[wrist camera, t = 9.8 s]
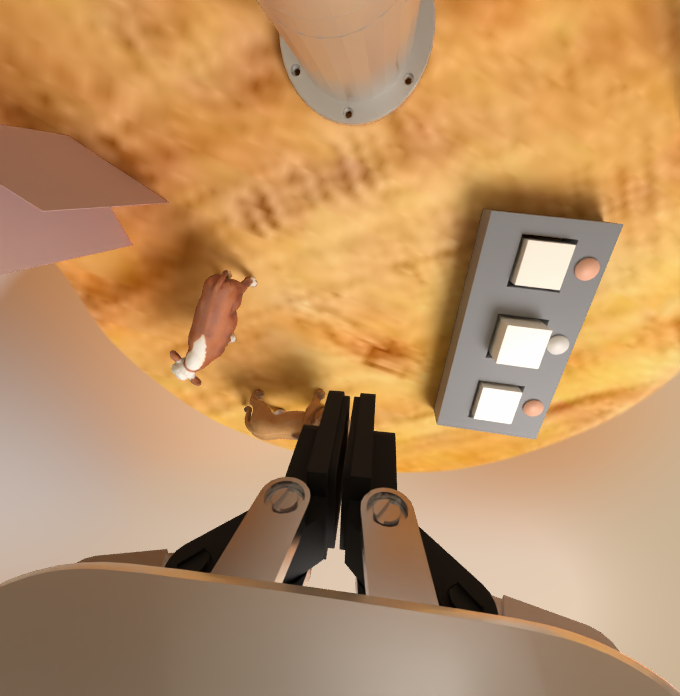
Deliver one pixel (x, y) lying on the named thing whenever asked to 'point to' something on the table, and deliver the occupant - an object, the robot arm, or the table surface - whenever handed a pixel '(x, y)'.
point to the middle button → (519, 341)
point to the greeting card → (59, 200)
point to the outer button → (495, 401)
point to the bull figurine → (211, 324)
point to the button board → (506, 298)
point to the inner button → (541, 262)
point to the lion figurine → (281, 418)
